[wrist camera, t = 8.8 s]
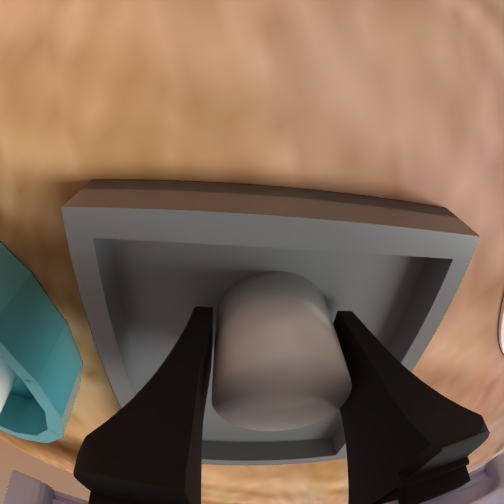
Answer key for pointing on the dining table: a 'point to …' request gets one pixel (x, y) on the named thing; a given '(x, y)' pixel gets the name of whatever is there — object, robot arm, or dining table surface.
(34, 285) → the bowl
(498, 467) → the robot arm
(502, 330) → the ceiling medallion
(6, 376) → the stone
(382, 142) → the dining table surface
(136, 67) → the dining table surface
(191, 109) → the dining table surface
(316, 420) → the stone
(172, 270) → the tray
